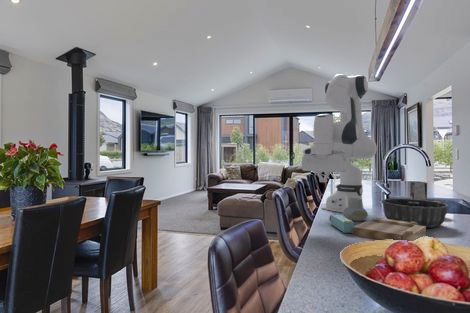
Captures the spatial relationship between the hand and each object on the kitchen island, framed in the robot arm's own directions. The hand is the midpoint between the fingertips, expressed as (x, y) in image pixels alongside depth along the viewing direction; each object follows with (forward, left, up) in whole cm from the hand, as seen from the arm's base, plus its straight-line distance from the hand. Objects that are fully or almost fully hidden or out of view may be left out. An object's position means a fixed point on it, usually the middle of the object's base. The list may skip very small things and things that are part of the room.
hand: (323, 182), depth 152 cm
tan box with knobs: (+28, +2, -19) cm, 34 cm away
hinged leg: (+9, -1, -18) cm, 21 cm away
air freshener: (+6, +20, -19) cm, 28 cm away
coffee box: (+22, +62, -19) cm, 69 cm away
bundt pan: (+29, +29, -19) cm, 45 cm away
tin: (+31, +51, -19) cm, 63 cm away
